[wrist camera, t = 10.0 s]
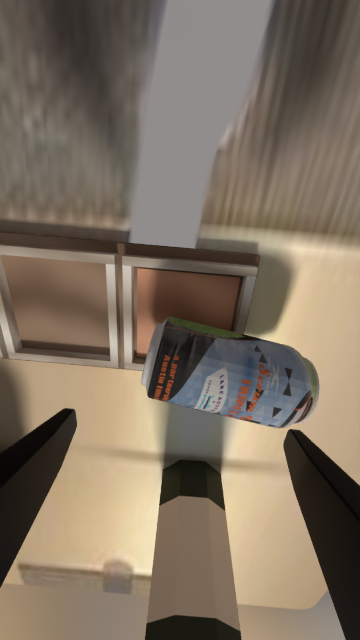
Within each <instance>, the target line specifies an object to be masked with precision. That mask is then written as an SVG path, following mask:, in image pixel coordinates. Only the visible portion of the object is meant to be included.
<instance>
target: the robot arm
mask: <svg viewBox="0 0 360 640" xmlns="http://www.w3.org/2000/svg"><path fill="white" fill-rule="evenodd" d="M76 427H77V419H76V412H75V410H74V409H69V408H65V409H63V410H61V411H60V412H58V413H57V414H56V415H54V416H53V417H51V418H50V419H48V420H47V421H46V422H44V423H43V424H41V425H40V426H39V427H37V428H36V429H34V430H33V431H32V432H30V433H29V434H27V435H26V436H24V437H23V438H22V439H20V440H19V441H17V442H16V443H15V444H13V445H12V446H10V447H9V448H8V449H6V450H5V451H3V452H2V453H0V587H1V585H2V583H3V582H4V580H5V578H6V576H7V574H8V572H9V570H10V568H11V566H12V564H13V562H14V560H15V558H16V556H17V554H18V552H19V550H20V548H21V546H22V544H23V542H24V540H25V538H26V536H27V534H28V532H29V530H30V528H31V526H32V524H33V522H34V520H35V518H36V516H37V514H38V512H39V510H40V508H41V506H42V504H43V502H44V500H45V498H46V496H47V494H48V492H49V490H50V488H51V486H52V484H53V482H54V480H55V478H56V476H57V474H58V472H59V470H60V468H61V466H62V464H63V461H64V459H65V456H66V453H67V451H68V448H69V446H70V443H71V441H72V438H73V436H74V433H75V430H76ZM283 446H284V452H285V456H286V460H287V464H288V468H289V472H290V476H291V480H292V484H293V488H294V491H295V494H296V497H297V500H298V503H299V506H300V509H301V512H302V515H303V517H304V520H305V523H306V526H307V529H308V532H309V535H310V538H311V541H312V543H313V546H314V549H315V552H316V555H317V558H318V561H319V564H320V567H321V569H322V572H323V575H324V578H325V581H326V584H327V587H328V590H329V593H330V595H331V598H332V601H333V603H334V607H335V610H336V613H337V616H338V619H339V621H340V624H341V627H342V630H343V633H344V636H345V639H346V640H360V486H359V485H358V484H357V483H356V482H355V481H354V480H353V479H352V478H351V477H350V476H349V475H348V474H347V473H345V472H344V471H343V470H342V469H341V468H340V467H339V466H338V465H337V464H336V463H335V462H334V461H333V460H331V459H330V458H329V457H328V456H327V455H326V454H325V453H324V452H323V451H322V450H321V449H320V448H319V447H317V446H316V445H315V444H314V443H313V442H312V441H311V440H310V439H309V438H308V437H307V436H306V435H304V434H303V433H302V432H301V431H300V430H294V429H290V430H288V432H287V435H286V438H285V440H284V444H283Z"/></svg>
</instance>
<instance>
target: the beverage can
mask: <svg viewBox="0 0 360 640" xmlns="http://www.w3.org/2000/svg"><path fill="white" fill-rule="evenodd" d="M141 384H142V385H144V386H146V389H147V395H148V397H149V398H152V399H156V400H161V401H165V402H169V403H173V404H177V405H182V406H186V407H190V408H194V409H198V410H203V411H207V412H211V413H215V414H219V415H223V416H228V417H232V418H236V419H240V420H244V421H249V422H253V423H257V424H261V425H265V426H270V427H274V428H285V427H288V426H290V425H292V424H301V423H303V422H305V421H307V420H308V419H309V418H310V417H311V415H312V414H313V412H314V410H315V408H316V405H317V402H318V397H319V379H318V374H317V371H316V369H315V367H314V365H313V364H312V363H311V361H309V360H308V359H306V358H304V357H302V355H301V354H300V353H299V352H298V351H296V350H295V349H294V348H292V347H290V346H287V345H283V344H279V343H275V342H271V341H267V340H263V339H259V338H255V337H251V336H247V335H243V334H239V333H235V332H231V331H227V330H223V329H219V328H215V327H211V326H207V325H203V324H199V323H195V322H191V321H187V320H183V319H180V318H176V317H172V316H169V317H167V319H166V320H165V321H164V322H163V323H162V324H160V323H158V324H157V325H156V327H155V329H154V332H153V335H152V339H151V342H150V345H149V349H148V353H147V357H146V361H145V365H144V369H143V374H142V380H141Z"/></svg>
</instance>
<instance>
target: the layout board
mask: <svg viewBox="0 0 360 640" xmlns="http://www.w3.org/2000/svg"><path fill="white" fill-rule="evenodd" d="M259 260H260V255H258V254H249V253H237V252H226V251H214V250H203V249H192V248H180V247H168V246H158V245H146V244H135V243H123V242H112V241H101V240H89V239H78V238H67V237H55V236H44V235H33V234H21V233H10V232H0V358H5V359H16V360H27V361H38V362H49V363H60V364H72V365H83V366H94V367H105V368H116V369H127V370H138V371H143V369H144V365H145V361H146V357H147V353H148V349H149V345H150V342H151V339H152V335H153V332H154V329H155V327H156V325H157V324H158V323H160V324H162V323H163V322H164V321H165V320H166V319H167V317H169V316H172V317H176V318H180V319H183V320H187V321H191V322H195V323H199V324H203V325H207V326H211V327H215V328H219V329H223V330H227V331H231V332H235V333H239V334H243V335H244V330H245V326H246V321H247V317H248V312H249V307H250V303H251V298H252V293H253V289H254V284H255V280H256V275H257V270H258V265H259Z"/></svg>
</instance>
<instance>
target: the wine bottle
mask: <svg viewBox="0 0 360 640" xmlns="http://www.w3.org/2000/svg"><path fill="white" fill-rule="evenodd" d="M145 640H241V633H240V624H239V617H238V608H237V600H236V592H235V584H234V576H233V568H232V560H231V552H230V544H229V536H228V528H227V520H226V512H225V504H224V497H223V489H222V481H221V474H220V473H218V472H217V471H216V470H215V469H214V468H212V467H211V466H210V465H209V464H208V463H206V462H201V461H188V460H180V461H178V462H176V463H175V464H173V465H171V466H169V467H168V468H166V469H164V470H163V476H162V485H161V494H160V504H159V513H158V522H157V532H156V541H155V550H154V560H153V569H152V579H151V588H150V597H149V607H148V616H147V625H146V636H145Z"/></svg>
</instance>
